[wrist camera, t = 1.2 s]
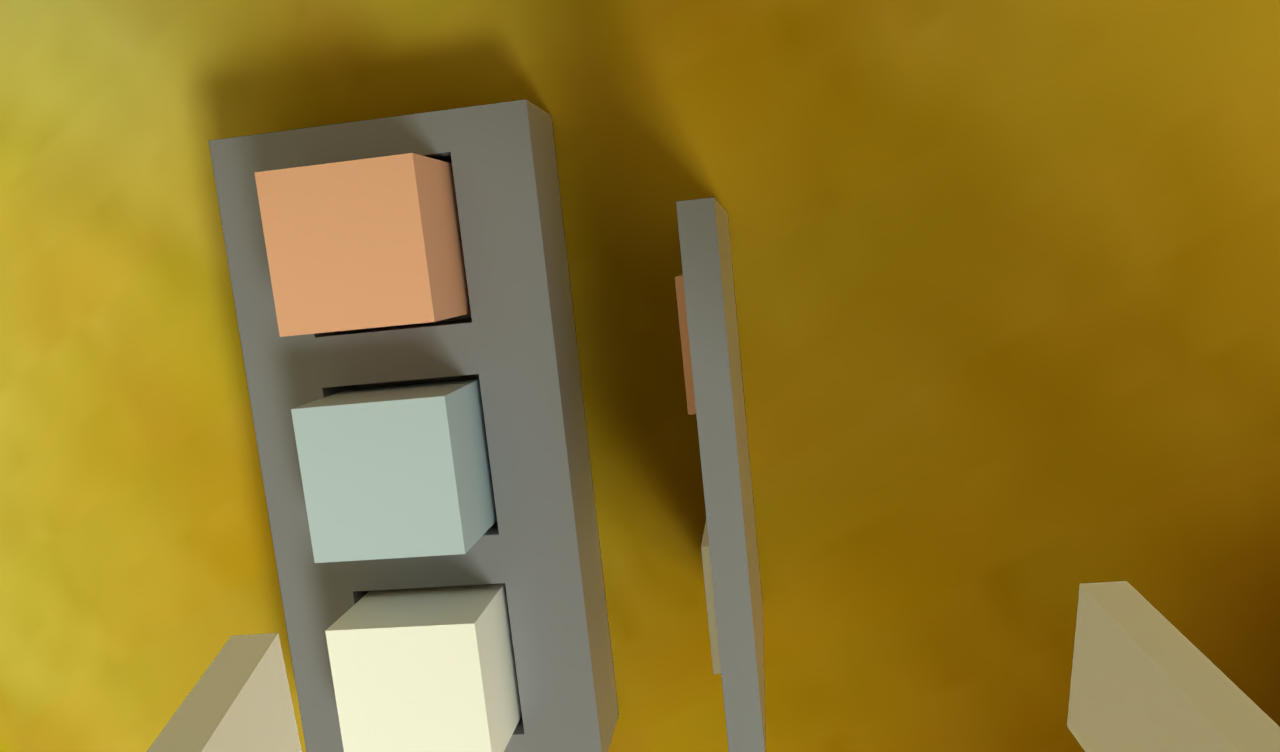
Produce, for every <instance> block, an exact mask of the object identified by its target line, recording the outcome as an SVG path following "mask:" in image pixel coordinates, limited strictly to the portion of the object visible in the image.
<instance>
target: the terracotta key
mask: <svg viewBox="0 0 1280 752" xmlns="http://www.w3.org/2000/svg"><path fill="white" fill-rule="evenodd" d="M254 173H255V180H256V186H257V193H258V199H259V206H260V212H261V219H262V225H263V232H264V238H265V245H266V251H267V258H268V264H269V270H270V277H271V283H272V290H273V296H274V303H275V309H276V316H277V322H278V329H279V335H280V337H284V336H294V335H305V334H315V333H325V332H336V331H346V330H356V329H366V328H377V327H387V326H397V325H408V324H418V323H428V322H436V321H440V320H445V319H449V318H453V317H457V316H461V315H465V314H470V313H471V310H470V302H469V294H468V286H467V278H466V270H465V263H464V255H463V247H462V239H461V231H460V223H459V215H458V207H457V200H456V192H455V184H454V176H453V168H452V163H448V162H444V161H441V160H437V159H433V158H429V157H426V156H422V155H418V154H415V153H407V154H399V155H391V156H383V157H375V158H367V159H359V160H351V161H343V162H335V163H327V164H319V165H311V166H303V167H295V168H287V169H278V170H270V171H262V172H254Z"/></svg>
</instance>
